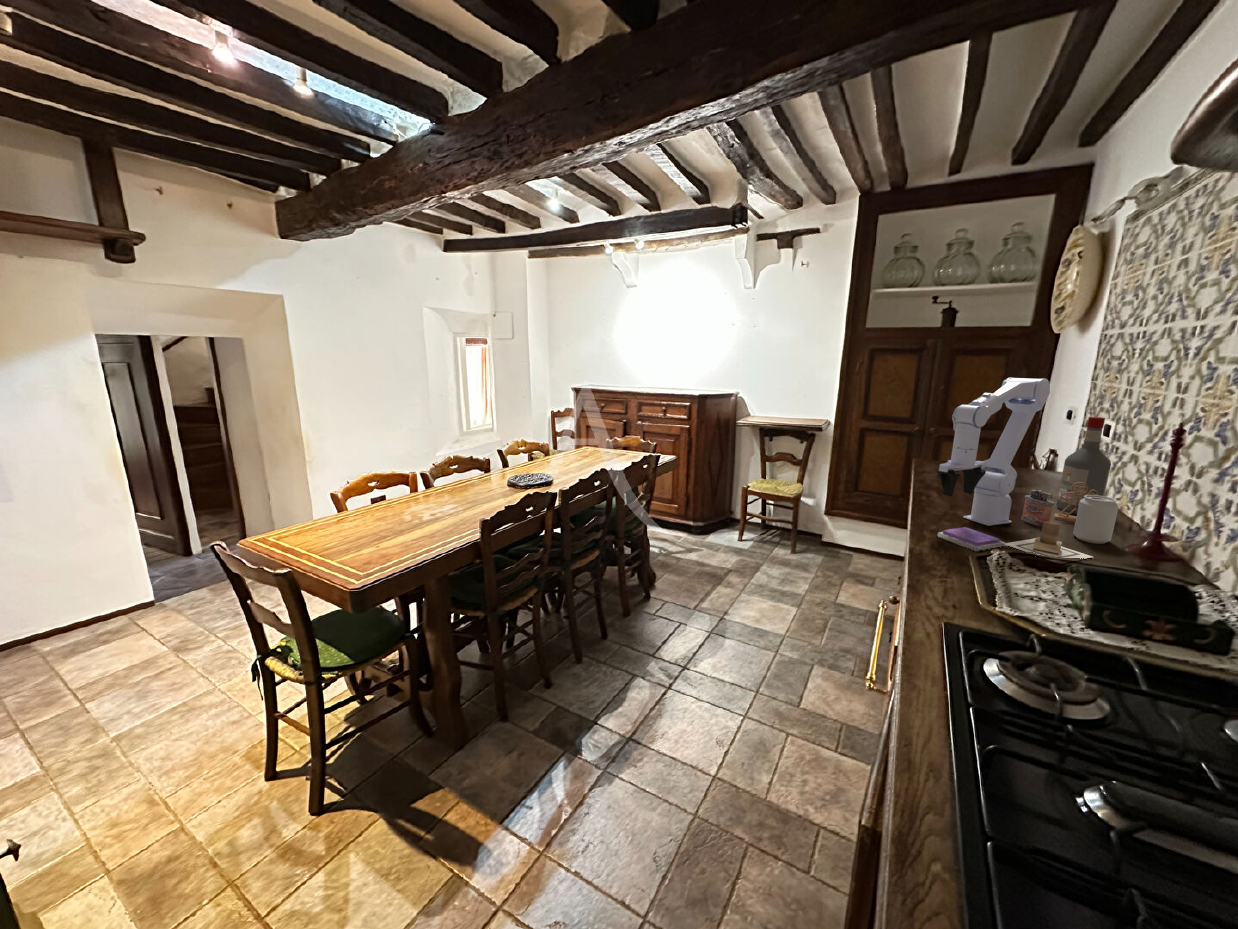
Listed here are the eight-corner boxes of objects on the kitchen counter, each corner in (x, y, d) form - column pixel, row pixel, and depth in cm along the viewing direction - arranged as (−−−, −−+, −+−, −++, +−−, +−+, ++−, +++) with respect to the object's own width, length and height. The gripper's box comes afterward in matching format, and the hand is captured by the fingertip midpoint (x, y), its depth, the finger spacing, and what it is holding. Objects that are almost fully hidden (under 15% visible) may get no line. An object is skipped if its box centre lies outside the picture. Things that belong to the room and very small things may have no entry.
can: (1100, 536, 133) (1109, 494, 130) (1117, 546, 126) (1127, 502, 123) (1066, 533, 135) (1075, 492, 133) (1081, 543, 128) (1090, 500, 126)
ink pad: (964, 532, 137) (965, 525, 136) (1004, 546, 127) (1005, 539, 126) (937, 536, 134) (938, 529, 134) (975, 551, 124) (976, 544, 123)
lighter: (1017, 518, 148) (1023, 487, 145) (1027, 518, 148) (1033, 487, 146) (1042, 527, 140) (1048, 494, 138) (1053, 527, 140) (1059, 494, 138)
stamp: (1034, 544, 127) (1039, 519, 125) (1060, 549, 123) (1065, 523, 122) (1032, 550, 123) (1037, 523, 122) (1058, 555, 120) (1064, 528, 118)
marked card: (1035, 539, 131) (1036, 537, 131) (1093, 558, 119) (1093, 556, 119) (1003, 545, 128) (1003, 543, 128) (1058, 564, 116) (1059, 562, 116)
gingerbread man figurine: (1054, 519, 147) (1061, 481, 144) (1053, 516, 150) (1060, 478, 147) (1094, 525, 141) (1102, 486, 139) (1092, 521, 144) (1100, 483, 142)
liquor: (1072, 514, 151) (1092, 419, 144) (1051, 505, 159) (1068, 415, 153) (1105, 515, 149) (1126, 419, 143) (1082, 506, 158) (1101, 415, 151)
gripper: (970, 444, 141) (963, 488, 144) (932, 446, 137) (925, 492, 140) (995, 448, 134) (987, 495, 137) (955, 451, 130) (948, 499, 133)
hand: (957, 494), depth 138 cm, fingers open, 7 cm apart
